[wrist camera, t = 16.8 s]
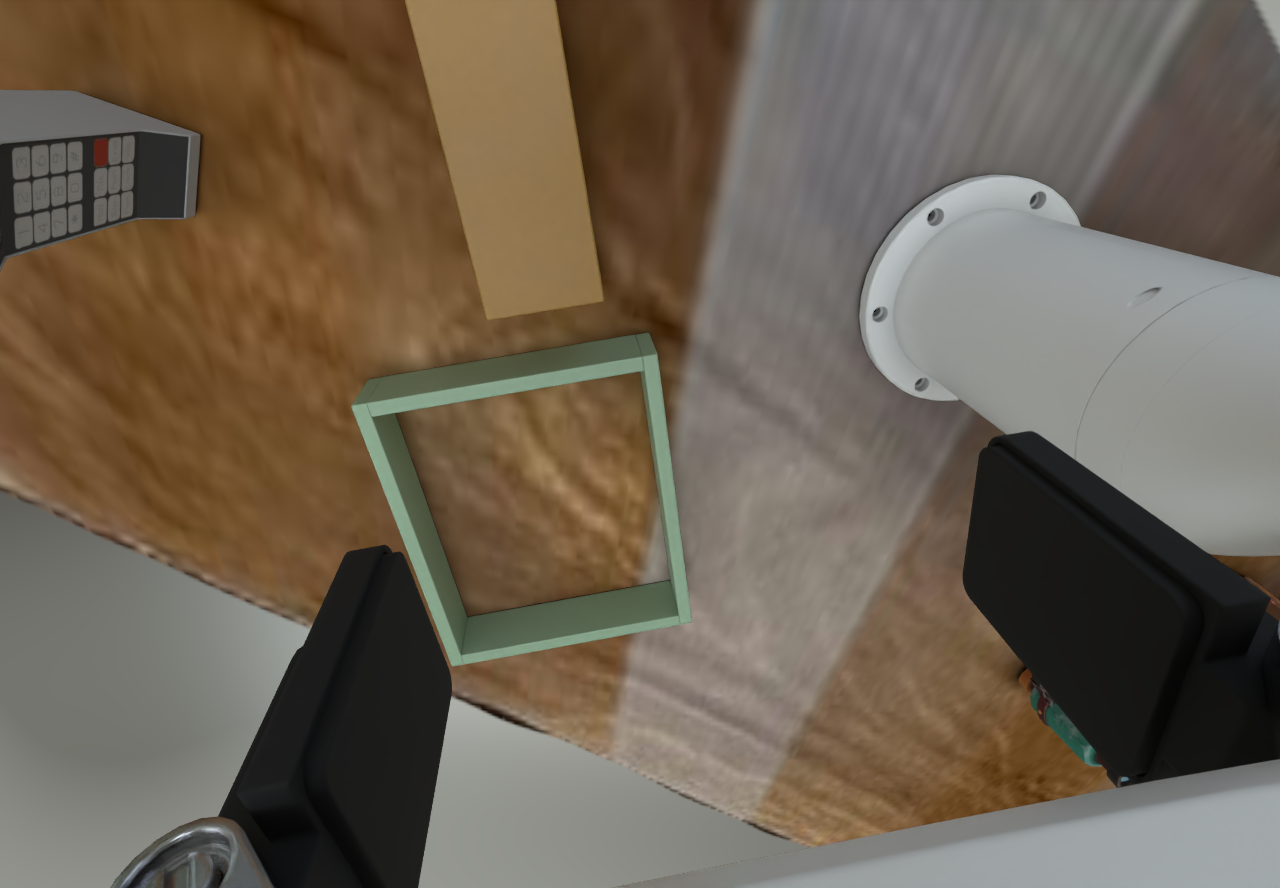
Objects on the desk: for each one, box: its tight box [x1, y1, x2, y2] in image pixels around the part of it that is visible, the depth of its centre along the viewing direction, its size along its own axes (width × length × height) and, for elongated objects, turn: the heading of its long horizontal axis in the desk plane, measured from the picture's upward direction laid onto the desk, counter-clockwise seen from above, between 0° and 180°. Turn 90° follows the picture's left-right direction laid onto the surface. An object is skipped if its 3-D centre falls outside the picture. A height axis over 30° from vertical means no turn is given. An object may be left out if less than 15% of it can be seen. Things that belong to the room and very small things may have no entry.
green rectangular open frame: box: [351, 333, 692, 666], centre depth 39 cm, size 16×19×4 cm
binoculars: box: [1019, 669, 1133, 788], centre depth 48 cm, size 9×11×10 cm
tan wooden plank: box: [405, 0, 604, 321], centre depth 29 cm, size 6×15×4 cm, turn 8°
